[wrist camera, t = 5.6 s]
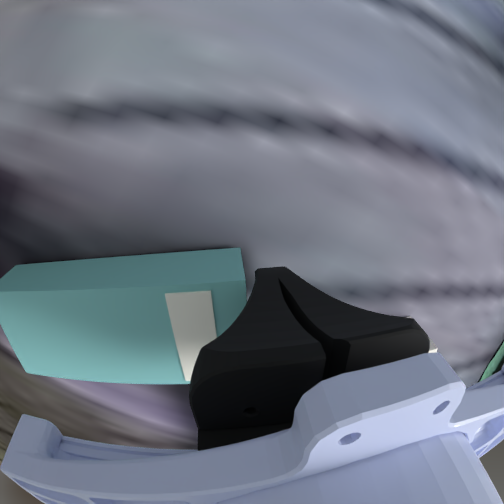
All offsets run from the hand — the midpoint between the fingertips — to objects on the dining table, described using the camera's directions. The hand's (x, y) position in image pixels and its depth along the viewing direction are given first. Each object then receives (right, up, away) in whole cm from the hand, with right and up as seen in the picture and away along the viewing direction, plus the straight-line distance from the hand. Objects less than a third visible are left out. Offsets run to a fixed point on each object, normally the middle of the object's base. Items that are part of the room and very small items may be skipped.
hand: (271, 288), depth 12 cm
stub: (-7, -1, +1) cm, 7 cm away
